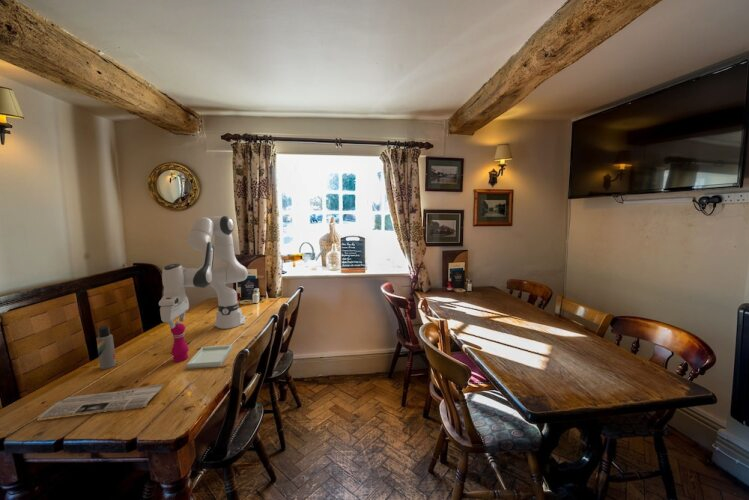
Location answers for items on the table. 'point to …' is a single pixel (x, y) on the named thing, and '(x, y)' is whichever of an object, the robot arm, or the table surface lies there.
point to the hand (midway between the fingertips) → (177, 324)
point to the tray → (210, 357)
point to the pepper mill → (179, 343)
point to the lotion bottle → (105, 348)
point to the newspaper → (103, 402)
